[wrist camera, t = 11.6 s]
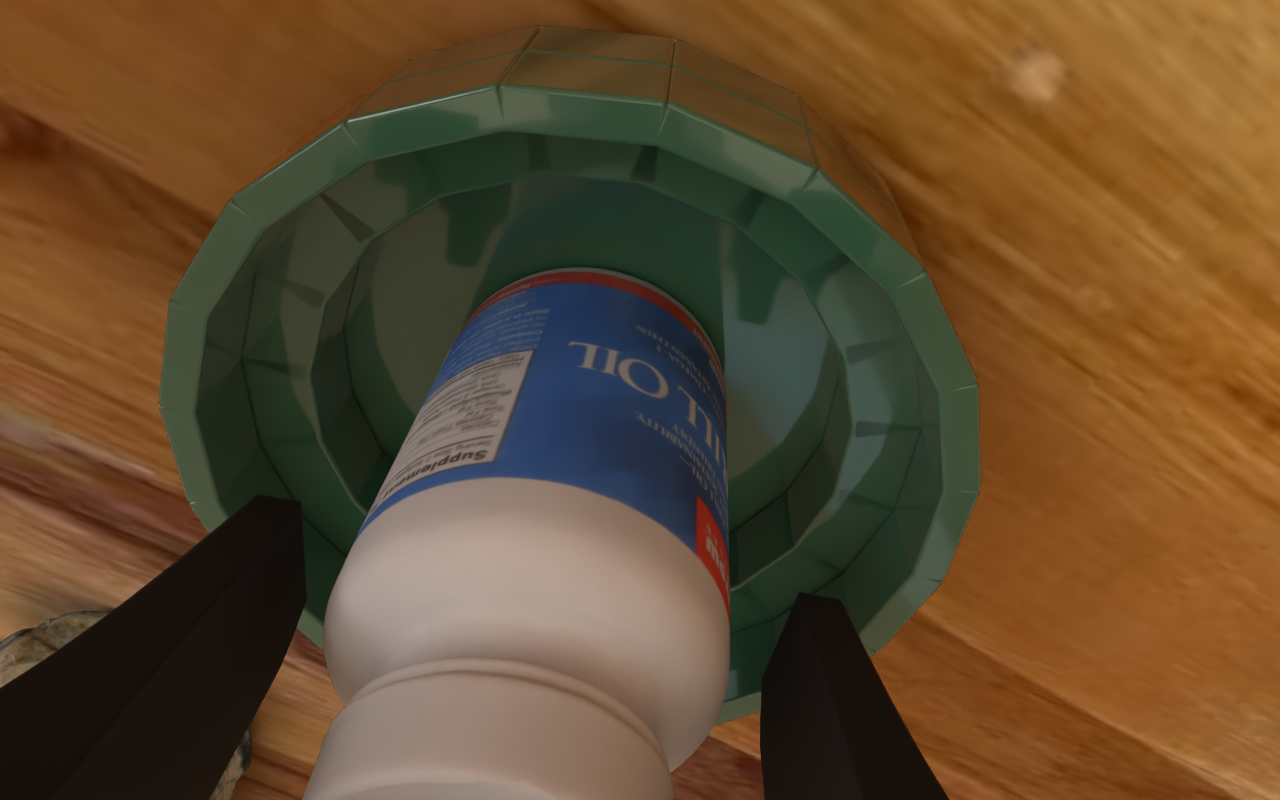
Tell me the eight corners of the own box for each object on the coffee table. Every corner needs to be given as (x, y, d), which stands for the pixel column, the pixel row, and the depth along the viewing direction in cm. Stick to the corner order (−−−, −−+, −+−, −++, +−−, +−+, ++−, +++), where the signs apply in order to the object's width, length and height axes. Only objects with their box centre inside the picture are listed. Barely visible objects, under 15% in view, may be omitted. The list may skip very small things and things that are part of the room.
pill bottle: (780, 406, 17) (844, 939, 9) (576, 521, 19) (483, 1035, 11) (604, 196, 15) (482, 662, 7) (395, 353, 17) (115, 847, 9)
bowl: (315, 561, 21) (244, 699, 18) (202, -19, 14) (45, 38, 11) (845, 617, 21) (869, 766, 18) (1025, 63, 14) (1123, 146, 10)
